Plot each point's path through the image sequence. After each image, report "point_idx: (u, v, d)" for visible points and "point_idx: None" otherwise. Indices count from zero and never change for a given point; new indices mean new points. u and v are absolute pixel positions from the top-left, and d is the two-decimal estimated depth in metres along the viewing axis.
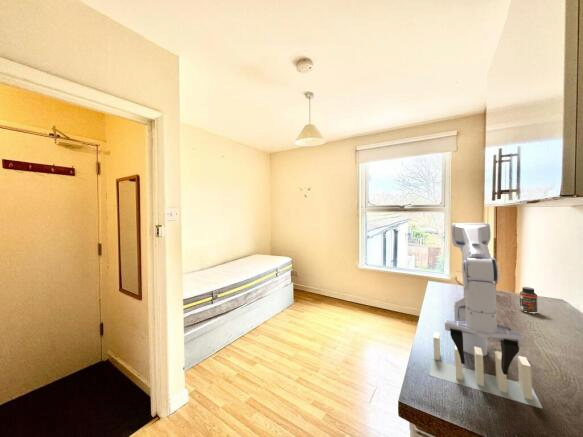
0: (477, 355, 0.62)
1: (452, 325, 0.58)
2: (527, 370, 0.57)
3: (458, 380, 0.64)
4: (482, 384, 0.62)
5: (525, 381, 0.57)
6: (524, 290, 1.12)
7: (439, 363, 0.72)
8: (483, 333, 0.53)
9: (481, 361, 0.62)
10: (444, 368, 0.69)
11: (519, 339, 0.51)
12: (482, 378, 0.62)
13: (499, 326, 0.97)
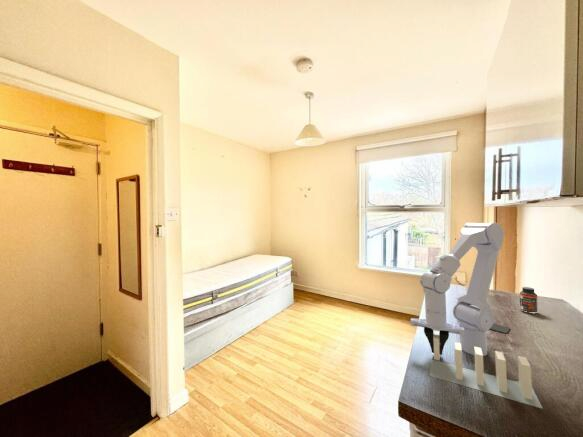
0: (477, 355, 0.62)
1: (415, 322, 0.78)
2: (527, 370, 0.57)
3: (458, 380, 0.64)
4: (482, 384, 0.62)
5: (525, 381, 0.57)
6: (524, 290, 1.12)
7: (439, 363, 0.72)
8: (436, 327, 0.73)
9: (481, 361, 0.62)
10: (444, 368, 0.69)
11: (460, 331, 0.71)
12: (482, 378, 0.62)
13: (499, 326, 0.97)
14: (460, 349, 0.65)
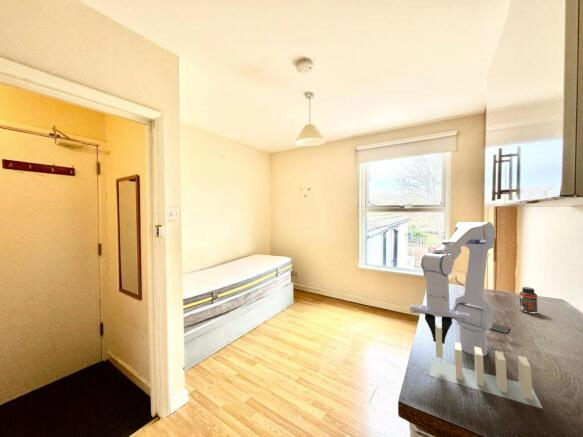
0: (477, 355, 0.62)
1: (415, 308, 0.71)
2: (527, 370, 0.57)
3: (458, 380, 0.64)
4: (482, 384, 0.62)
5: (525, 381, 0.57)
6: (524, 290, 1.12)
7: (439, 363, 0.72)
8: (438, 313, 0.66)
9: (481, 361, 0.62)
10: (444, 368, 0.69)
11: (465, 317, 0.65)
12: (482, 378, 0.62)
13: (499, 326, 0.97)
14: (460, 349, 0.65)
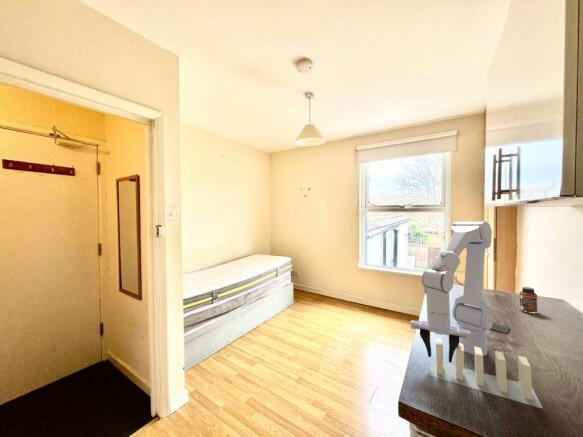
0: (477, 355, 0.62)
1: (416, 324, 0.71)
2: (527, 370, 0.57)
3: (458, 380, 0.64)
4: (482, 384, 0.62)
5: (525, 381, 0.57)
6: (524, 290, 1.12)
7: None
8: (439, 331, 0.66)
9: (481, 361, 0.62)
10: (444, 368, 0.69)
11: (466, 335, 0.65)
12: (482, 378, 0.62)
13: (499, 326, 0.97)
14: (462, 349, 0.65)
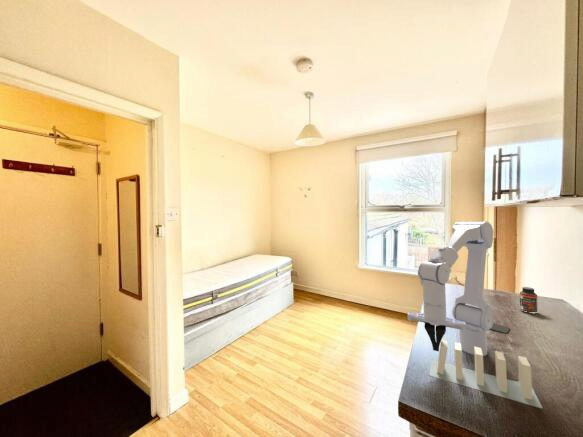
0: (477, 355, 0.62)
1: (413, 316, 0.72)
2: (527, 370, 0.57)
3: (458, 380, 0.64)
4: (482, 384, 0.62)
5: (525, 381, 0.57)
6: (524, 290, 1.12)
7: None
8: (434, 322, 0.67)
9: (481, 361, 0.62)
10: (444, 368, 0.69)
11: (461, 326, 0.65)
12: (482, 378, 0.62)
13: (499, 326, 0.97)
14: (460, 349, 0.65)
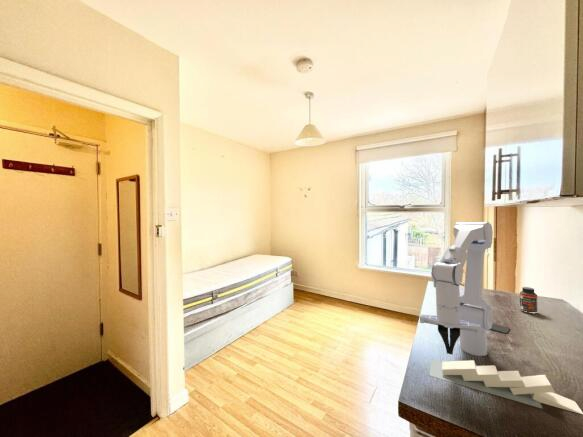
0: (521, 381, 0.58)
1: (425, 318, 0.70)
2: None
3: (458, 380, 0.64)
4: (487, 385, 0.61)
5: (558, 405, 0.54)
6: (524, 290, 1.12)
7: (439, 363, 0.72)
8: (449, 324, 0.65)
9: (516, 385, 0.58)
10: None
11: (477, 329, 0.63)
12: (494, 385, 0.60)
13: (499, 326, 0.97)
14: (499, 378, 0.60)
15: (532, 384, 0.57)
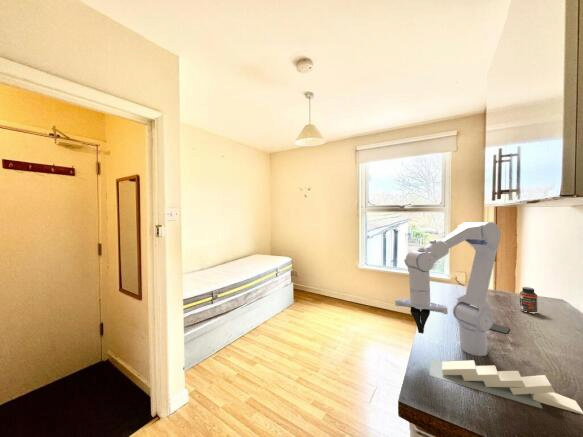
0: (521, 382, 0.58)
1: (400, 302, 0.77)
2: None
3: (458, 380, 0.64)
4: (487, 385, 0.61)
5: (558, 405, 0.54)
6: (524, 290, 1.12)
7: (439, 363, 0.72)
8: (419, 306, 0.72)
9: (516, 385, 0.58)
10: None
11: (444, 310, 0.71)
12: (494, 385, 0.60)
13: (499, 326, 0.97)
14: (499, 378, 0.60)
15: (532, 384, 0.57)
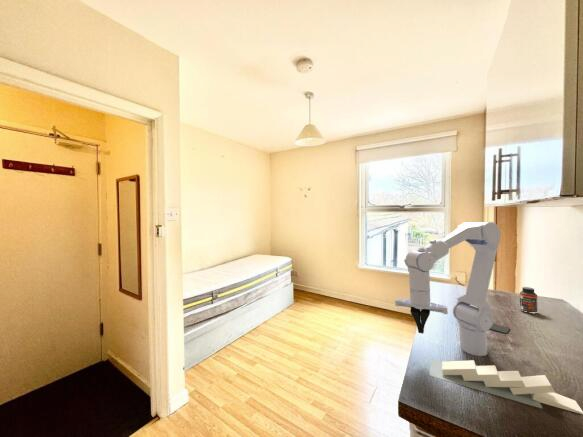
0: (521, 382, 0.58)
1: (400, 302, 0.77)
2: None
3: (458, 380, 0.64)
4: (487, 385, 0.61)
5: (558, 405, 0.54)
6: (524, 290, 1.12)
7: (439, 363, 0.72)
8: (419, 306, 0.72)
9: (516, 385, 0.58)
10: None
11: (444, 310, 0.71)
12: (494, 385, 0.60)
13: (499, 326, 0.97)
14: (499, 378, 0.60)
15: (532, 384, 0.57)
